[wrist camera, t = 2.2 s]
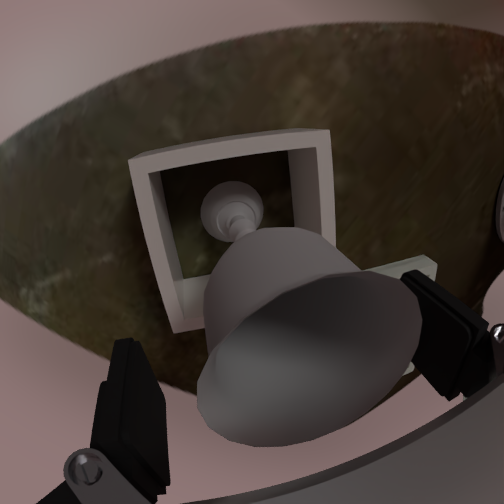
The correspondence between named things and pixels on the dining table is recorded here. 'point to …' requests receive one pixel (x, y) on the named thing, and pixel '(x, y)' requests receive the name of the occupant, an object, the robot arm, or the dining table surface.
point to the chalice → (294, 329)
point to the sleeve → (151, 162)
